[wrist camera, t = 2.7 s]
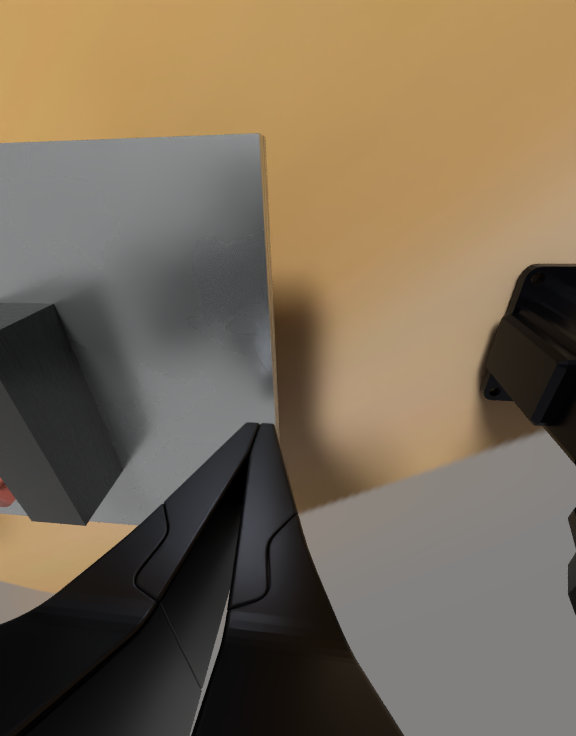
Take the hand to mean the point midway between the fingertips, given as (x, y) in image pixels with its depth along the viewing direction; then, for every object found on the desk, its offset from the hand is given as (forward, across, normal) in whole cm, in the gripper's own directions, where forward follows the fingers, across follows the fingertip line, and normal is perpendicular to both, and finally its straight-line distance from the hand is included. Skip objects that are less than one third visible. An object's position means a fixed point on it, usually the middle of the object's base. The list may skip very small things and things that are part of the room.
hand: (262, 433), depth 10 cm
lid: (+2, +7, 0) cm, 7 cm away
